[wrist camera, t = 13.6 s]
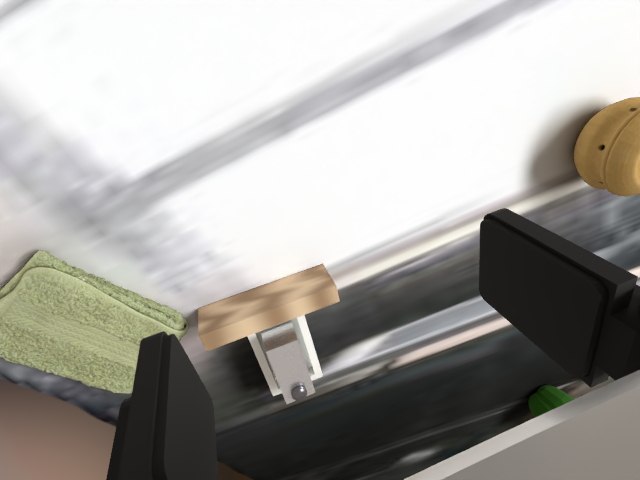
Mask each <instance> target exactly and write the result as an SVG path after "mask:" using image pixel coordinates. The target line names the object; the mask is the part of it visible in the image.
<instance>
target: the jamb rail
mask: <svg viewBox="0 0 640 480" xmlns="http://www.w3.org/2000/svg"><path fill="white" fill-rule="evenodd" d="M339 301H340V300H339V296H338V292H337V287H336V285H335V283H334V281H333V280H332V278H331V276H330V275H329V273H328V271H327V270H326V268H325V267H324V265H323V264H321V265H318V266H316V267H313V268H310V269H307V270H304V271H302V272H299V273H296V274H293V275H290V276H288V277H285V278H282V279H279V280H276V281H274V282H271V283H268V284H265V285H262V286H260V287H257V288H254V289H251V290H248V291H246V292H243V293H240V294H237V295H234V296H232V297H229V298H226V299H223V300H220V301H218V302H215V303H212V304H209V305H206V306H204V307H201V308H198V326H199V338H200V339H201V341H202V343H203V345H204V347H205V349H206V351H209V350H212V349H215V348H217V347H220V346H223V345H225V344H228V343H230V342H233V341H236V340H238V339H241V338H244V337H246V336H249V335H252V334H254V333H257V332H260V331H262V330H265V329H268V328H270V327H273V326H276V325H278V324H281V323H284V322H286V321H289V320H292V319H294V318H297V317H300V316H302V315H305V314H308V313H310V312H313V311H315V310H318V309H321V308H323V307H326V306H329V305H331V304H334V303H337V302H339Z"/></svg>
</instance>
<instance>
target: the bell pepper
mask: <svg viewBox="0 0 640 480" xmlns="http://www.w3.org/2000/svg"><path fill="white" fill-rule="evenodd" d="M572 400H574V398H572V397H571V396H569V395H568V394H566V393H565V392H563V391H561V390H560V389H558V388H556V387H553V386H550V385H545V386H541V387H540V388H539V389H538V391H537V392H536V393H534V394H533V395H531V396H530V397H529V400H528V404H529V408H530V410H531V412H532V414H533V415H534V417H535V418H536V417H538V416H540V415H542V414H544V413H546V412H549V411H551V410H553V409H555V408H557V407H559V406H562V405H564V404H566V403H568V402H570V401H572Z"/></svg>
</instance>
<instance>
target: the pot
mask: <svg viewBox="0 0 640 480" xmlns="http://www.w3.org/2000/svg"><path fill="white" fill-rule="evenodd" d="M574 163H575V166H576V169H577V171H578V173H579V174H580V176H581V177H582V178H583V180H584V181H585V182H586V183H587V184H588V185H590V186H592V187H594V188H598V189H607V190H608V191H609V192H611V193H612V194H615V195H619V196H632V195H637V194H640V97H636V98H628V99H625V100H622V101H619V102H616V103H614V104H611V105H609V106H607V107H606V108H604V109H602V110H601V111H599V112H598V113H597V114H596V115H594V116H593V117H592V118H591V119H590V120H589V121H588V123H587V124H586V125H585V126H584V128H583V129H582V131H581V132H580V135H579V137H578V139H577V141H576V145H575V149H574Z"/></svg>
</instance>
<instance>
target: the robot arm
mask: <svg viewBox="0 0 640 480" xmlns="http://www.w3.org/2000/svg"><path fill="white" fill-rule="evenodd" d="M637 278H638V277H637V276H635V275H633V274H631V273H630V272H628V271H626V270H624V269H622V268H620V267H618V266H616V265H614V264H612V263H610V262H608V261H607V260H605V259H603V258H601V257H599V256H597V255H595V254H593V253H591V252H589V251H587V250H585V249H583V248H582V247H580V246H578V245H576V244H574V243H572V242H570V241H568V240H566V239H564V238H562V237H560V236H558V235H557V234H555V233H553V232H551V231H549V230H547V229H545V228H543V227H541V226H539V225H537V224H535V223H533V222H532V221H530V220H528V219H526V218H524V217H522V216H520V215H518V214H516V213H514V212H512V211H510V210H508V209H505V208H504V209H500V210H497V211H495V212H492V213H489V214H487V215H485V217H484V220H483V221H482V222H481V224H480V267H479V291H480V294H481V296H482V298H483V299H484V300H485V301H486V302H487V303H488V304H489V305H491V306H492V307H493V308H494V309H495V310H496V311H498V312H499V313H500V314H501V315H502V316H503V317H504V318H506V319H507V320H508V321H509V322H510V323H511V324H512V325H514V326H515V327H516V328H517V329H518V330H519V331H521V332H522V333H523V334H524V335H525V336H526V337H527V338H529V339H530V340H531V341H532V342H533V343H534V344H535V345H537V346H538V347H539V348H540V349H541V350H542V351H544V352H545V353H546V354H547V355H548V356H549V357H550V358H552V359H553V360H554V361H555V362H556V363H557V364H558V365H560V366H561V367H562V368H563V369H564V370H565V371H567V372H568V373H569V374H570V375H571V376H573V377H575V378H580V379H581V380H583V381H584V382H585V383H586V384H587V385H588V386H590V387H593V386H595V385H597V384H600V383H602V382H604V381H606V380H608V377H609V376H610V377H612V378H613V379H614V380H615V381H613V382H611V383H609V384H607V385H605V386H603V387H600V388H598V389H596V390H594V391H592V392H590V393H587V394H585V395H583V396H581V397H579V398H577V399H574V400H572V401H570V402H568V403H566V404H564V405H562V406H559V407H557V408H555V409H553V410H551V411H549V412H546V413H544V414H542V415H540V416H538V417H536V418H533V419H531V420H529V421H527V422H525V423H523V424H521V425H519V426H516V427H514V428H512V429H510V430H508V431H506V432H504V433H502V434H499V435H497V436H495V437H493V438H491V439H489V440H487V441H484V442H482V443H480V444H478V445H476V446H474V447H472V448H470V449H467V450H465V451H463V452H461V453H459V454H457V455H455V456H453V457H451V458H448V459H446V460H444V461H442V462H440V463H438V464H436V465H434V466H431V467H429V468H427V469H425V470H423V471H421V472H419V473H417V474H415V475H412V476H410V477H408V478H406V479H404V480H640V286H638V285H636V281H637ZM106 480H218V466H217V451H216V436H215V421H214V408H213V403H212V399H211V397H210V395H209V393H208V391H207V390H206V388H205V386H204V384H203V382H202V381H201V379H200V377H199V375H198V374H197V372H196V370H195V368H194V367H193V365H192V363H191V361H190V360H189V358H188V356H187V354H186V353H185V351H184V349H183V347H182V345H181V344H180V342H179V340H178V338H177V337H176V335H175V334H170V335H168V334H167V333H166V332H165V331H162V332H160V333H157V334H154V335H151V336H148V337H146V338H143V339H142V340H141V342H140V347H139V354H138V360H137V366H136V372H135V378H134V384H133V390H132V396H131V397H130V398H128V399H125V400H124V401H123V402H122V404H121V407H120V411H119V416H118V421H117V427H116V432H115V438H114V443H113V448H112V453H111V458H110V464H109V469H108V474H107V479H106Z"/></svg>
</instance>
